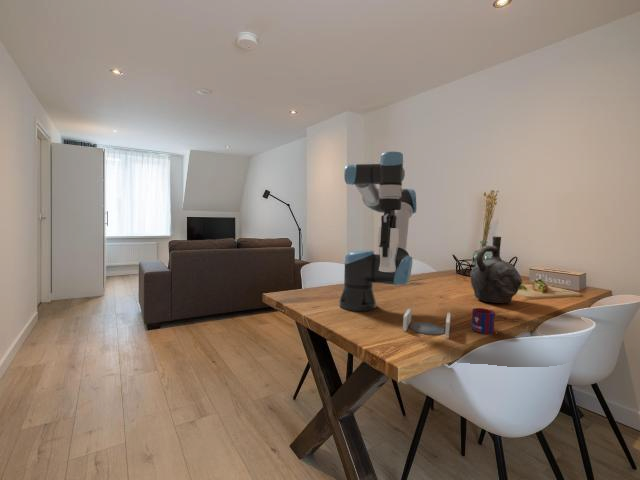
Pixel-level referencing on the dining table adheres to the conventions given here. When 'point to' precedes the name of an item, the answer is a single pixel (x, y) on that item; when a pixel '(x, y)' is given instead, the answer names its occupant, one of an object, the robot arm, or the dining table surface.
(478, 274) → the vessel
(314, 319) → the dining table surface
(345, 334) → the dining table surface
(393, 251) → the beer glass
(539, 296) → the cutting board
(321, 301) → the dining table surface
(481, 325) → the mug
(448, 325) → the low walls
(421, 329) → the slate coaster
